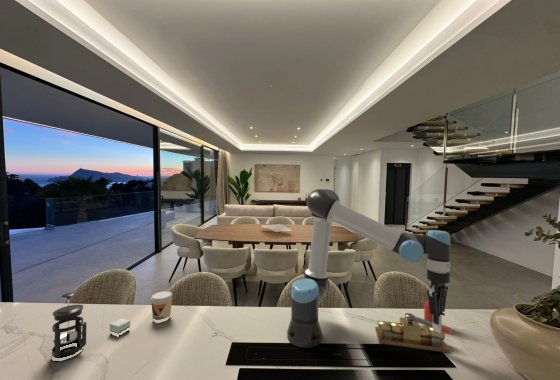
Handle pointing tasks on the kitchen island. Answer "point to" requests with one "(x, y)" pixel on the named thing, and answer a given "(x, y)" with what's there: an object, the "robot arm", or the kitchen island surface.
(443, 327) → the lever
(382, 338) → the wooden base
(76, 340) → the french press
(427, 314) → the beer can
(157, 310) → the coffee cup
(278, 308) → the kitchen island surface
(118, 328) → the small box
